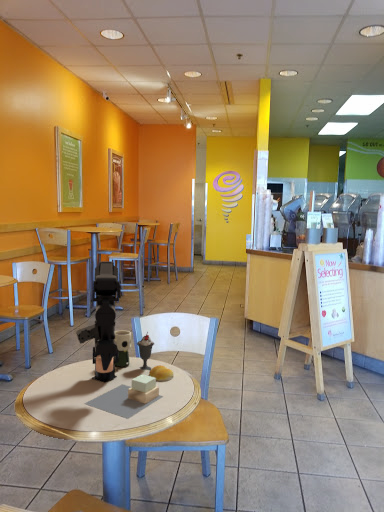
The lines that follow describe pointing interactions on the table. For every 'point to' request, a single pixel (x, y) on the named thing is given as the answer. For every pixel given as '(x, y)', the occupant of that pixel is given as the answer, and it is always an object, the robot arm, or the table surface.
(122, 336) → the character mug
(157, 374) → the bread roll
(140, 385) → the tower top
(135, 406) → the mat
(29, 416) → the table surface
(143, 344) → the sundae
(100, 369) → the peach gumdrop
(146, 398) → the tower base
